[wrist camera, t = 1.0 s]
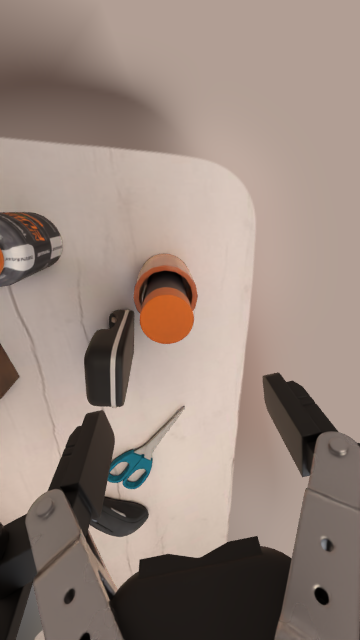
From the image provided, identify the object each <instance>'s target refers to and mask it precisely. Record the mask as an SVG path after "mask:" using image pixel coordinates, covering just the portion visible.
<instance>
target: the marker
mask: <svg viewBox="0 0 360 640" xmlns="http://www.w3.org/2000/svg"><path fill="white" fill-rule="evenodd" d="M193 322H194V316H193V312H192V308H191V305H190V302H189V300H188V298H187V296H186V292H185V289H184V285H183V282H182V278H181V275H179V274H178V273H176V272H171V271H166V270H164V271H160V272H155V273H153V274H152V275H150V276H149V278H148V283H147V289H146V294H145V299H144V301H143V304H142V309H141V314H140V325H141V328H142V330H143V332H144V333H145V334H146V335H147V337H149V338H150V339H151V340H153V341H155V342H158V343H162V344H171V343H175V342H178V341H180V340H182V339H183V338H185V337H186V336H187V335H188V333H189V332H190V331H191V329H192V326H193Z"/></svg>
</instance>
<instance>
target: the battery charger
mask: <svg viewBox="0 0 360 640" xmlns="http://www.w3.org/2000/svg"><path fill="white" fill-rule="evenodd" d="M133 354H134V311H130V310H117V311H114V312H112V313H111V314H110V317H109V329H100V330H97V331H96V332H95V334H94V335H93V337H92V339H91V341H90V343H89V345H88V348H87V350H86V353H85V357H84V367H85V382H86V394H87V399H88V402H89V403H90V404H91V405H93V406H109V407H112V408H117V407H121V406H123V405H124V402H125V397H126V392H127V386H128V381H129V376H130V370H131V364H132V359H133Z"/></svg>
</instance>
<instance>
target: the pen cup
mask: <svg viewBox="0 0 360 640" xmlns="http://www.w3.org/2000/svg"><path fill="white" fill-rule="evenodd" d="M164 270H166V271H171V272H176V273H178V274H179V275H181V278H182V282H183V285H184V289H185V292H186V296H187V298H188V300H189V302H190V305H191V308H192V311H193V310H194V309H195V306H196V302H197V297H198V295H197V290H196V285H195V282H194V280H193V278H192V276H191V274H190V271H189V269H188V268H187V266H186V265H185V263H184V262H183V261H182V260H181V259H179V258H178V257H176V256H174V255H171V254H158V255H155V256H153V257H151V258H150V259H148V260H147V261H146V262H145V264H144V265H143V267H142V269H141V270H140V273H139V276H138V279H137V282H136V285H135V289H134V297H133V298H134V302H135V305H136V308H137V310H138V312H139V313H140V314H141V309H142V304H143V301H144V299H145V294H146V289H147V283H148V278H149V276H150V275H152V274H153V273H155V272H160V271H164Z"/></svg>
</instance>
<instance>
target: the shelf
mask: <svg viewBox="0 0 360 640" xmlns="http://www.w3.org/2000/svg"><path fill="white" fill-rule="evenodd" d="M18 378H19V375H18V373H17V371H16V370H15V368H14V366H13V365H12V363H11V361H10V360H9V358H8V356H7V354H6V353H5V351H4V349H3V348H2V346H1V344H0V399H1V398H2V397H3V396H4V394H5V393H6V392H7V391H8V390H9V389H10V387H11V386H12V385H13V384H14V383H15V381H16V380H17V379H18Z"/></svg>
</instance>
